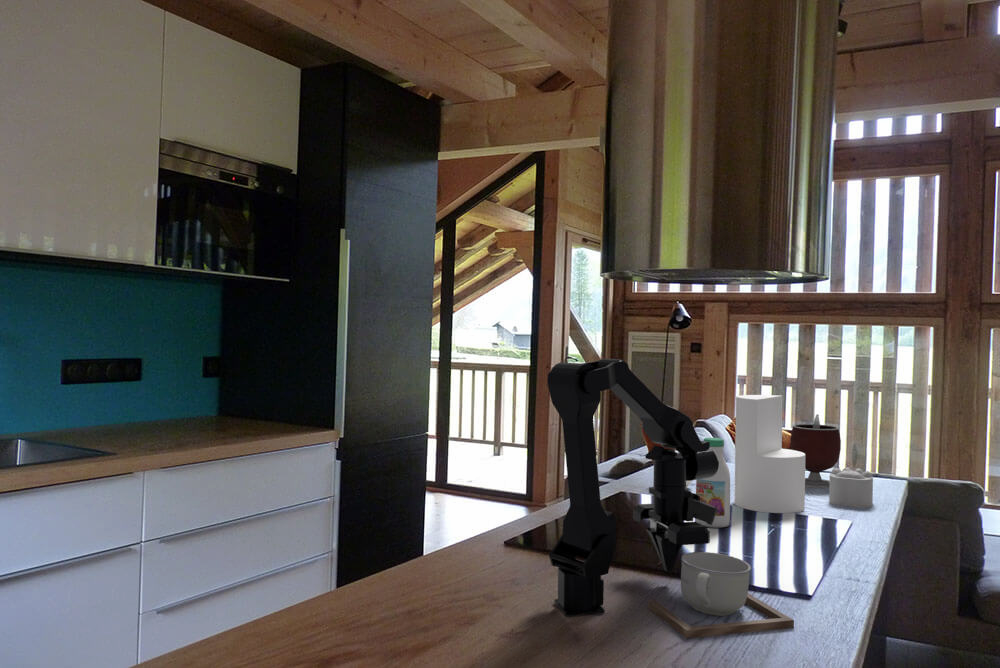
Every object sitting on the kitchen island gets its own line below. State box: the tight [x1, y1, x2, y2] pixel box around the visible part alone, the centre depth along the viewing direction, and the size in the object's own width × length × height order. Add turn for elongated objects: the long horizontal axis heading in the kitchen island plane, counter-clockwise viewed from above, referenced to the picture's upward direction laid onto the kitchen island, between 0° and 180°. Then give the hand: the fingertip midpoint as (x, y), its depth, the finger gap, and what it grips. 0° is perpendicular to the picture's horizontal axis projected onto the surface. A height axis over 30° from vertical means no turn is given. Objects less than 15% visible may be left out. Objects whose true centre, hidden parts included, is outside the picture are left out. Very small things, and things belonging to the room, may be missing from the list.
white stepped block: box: [733, 394, 806, 514], centre depth 203 cm, size 17×17×28 cm
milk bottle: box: [695, 437, 731, 529], centre depth 182 cm, size 8×8×20 cm
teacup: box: [680, 551, 752, 617], centre depth 125 cm, size 14×11×8 cm
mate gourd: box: [790, 414, 842, 489], centre depth 233 cm, size 16×14×20 cm
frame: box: [647, 592, 795, 639], centre depth 122 cm, size 18×13×1 cm
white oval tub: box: [828, 467, 874, 509], centre depth 209 cm, size 10×13×9 cm
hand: (668, 571), depth 139 cm, fingers closed
